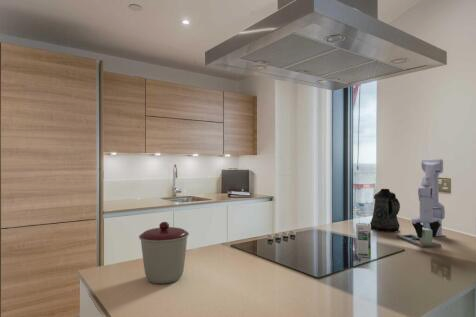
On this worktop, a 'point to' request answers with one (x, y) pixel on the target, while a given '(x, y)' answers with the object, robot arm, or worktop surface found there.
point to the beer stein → (385, 212)
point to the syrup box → (363, 239)
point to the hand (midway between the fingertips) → (426, 237)
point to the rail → (418, 243)
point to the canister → (164, 253)
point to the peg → (426, 236)
